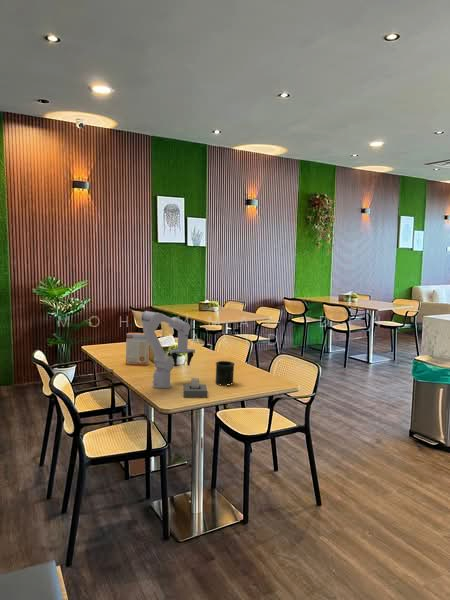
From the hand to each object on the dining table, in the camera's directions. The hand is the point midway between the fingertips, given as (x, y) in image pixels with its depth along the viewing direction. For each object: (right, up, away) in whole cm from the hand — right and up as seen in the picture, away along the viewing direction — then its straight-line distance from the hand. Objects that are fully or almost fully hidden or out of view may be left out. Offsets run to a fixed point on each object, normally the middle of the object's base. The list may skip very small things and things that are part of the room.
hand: (181, 365), depth 260 cm
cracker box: (-33, -5, +38) cm, 50 cm away
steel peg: (+9, -12, -22) cm, 27 cm away
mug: (+24, -11, +1) cm, 26 cm away
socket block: (+9, -12, -22) cm, 27 cm away
